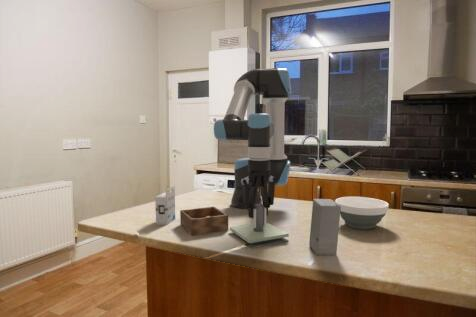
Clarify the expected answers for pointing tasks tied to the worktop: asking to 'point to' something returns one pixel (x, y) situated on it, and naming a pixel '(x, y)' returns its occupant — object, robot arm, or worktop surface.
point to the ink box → (165, 207)
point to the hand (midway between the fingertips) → (258, 225)
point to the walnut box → (203, 220)
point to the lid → (258, 229)
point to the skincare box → (324, 226)
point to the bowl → (362, 211)
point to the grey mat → (266, 242)
